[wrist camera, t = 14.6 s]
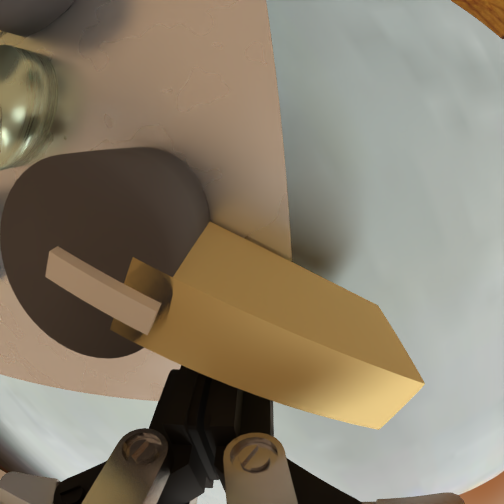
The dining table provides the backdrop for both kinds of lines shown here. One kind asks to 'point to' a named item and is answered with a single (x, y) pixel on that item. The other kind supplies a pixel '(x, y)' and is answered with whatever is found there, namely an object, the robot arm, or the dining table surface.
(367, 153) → the dining table surface
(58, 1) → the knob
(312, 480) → the robot arm
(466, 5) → the mug
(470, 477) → the dining table surface
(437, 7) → the dining table surface
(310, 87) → the dining table surface
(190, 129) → the base plate
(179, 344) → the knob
